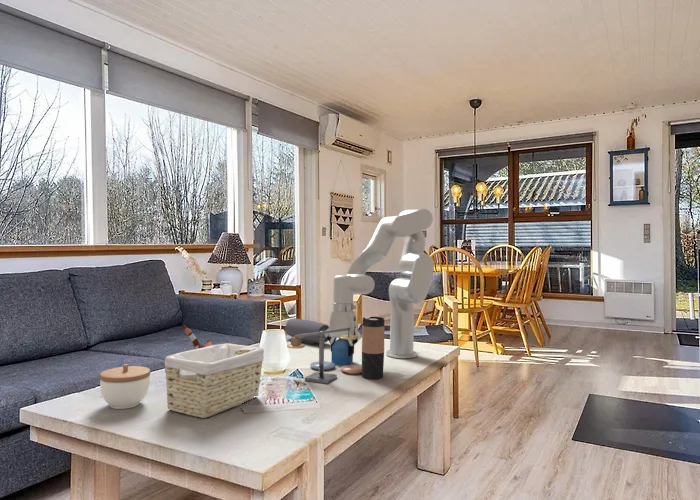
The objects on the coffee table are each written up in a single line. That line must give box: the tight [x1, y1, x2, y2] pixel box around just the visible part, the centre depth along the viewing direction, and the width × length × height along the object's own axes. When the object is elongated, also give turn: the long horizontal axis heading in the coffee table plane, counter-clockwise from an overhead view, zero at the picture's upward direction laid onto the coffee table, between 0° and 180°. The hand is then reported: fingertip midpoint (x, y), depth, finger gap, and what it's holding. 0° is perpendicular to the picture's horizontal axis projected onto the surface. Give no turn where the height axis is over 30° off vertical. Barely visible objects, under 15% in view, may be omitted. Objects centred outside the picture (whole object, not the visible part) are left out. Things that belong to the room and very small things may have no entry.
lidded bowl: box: [99, 363, 151, 410], centre depth 134 cm, size 13×13×11 cm
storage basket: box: [164, 342, 265, 419], centre depth 136 cm, size 24×16×15 cm
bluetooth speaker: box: [284, 318, 329, 345], centre depth 224 cm, size 23×9×10 cm, turn 46°
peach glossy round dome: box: [340, 364, 362, 375], centre depth 173 cm, size 9×9×1 cm
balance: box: [286, 327, 358, 385], centre depth 163 cm, size 8×25×18 cm, turn 68°
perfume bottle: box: [330, 338, 354, 366], centre depth 186 cm, size 6×6×12 cm
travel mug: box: [361, 316, 385, 381], centre depth 167 cm, size 8×8×20 cm
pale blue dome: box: [309, 360, 336, 371], centre depth 178 cm, size 9×9×1 cm
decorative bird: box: [182, 324, 214, 350], centre depth 164 cm, size 28×18×15 cm, turn 5°
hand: (342, 354), depth 186 cm, fingers closed on perfume bottle, 6 cm apart
